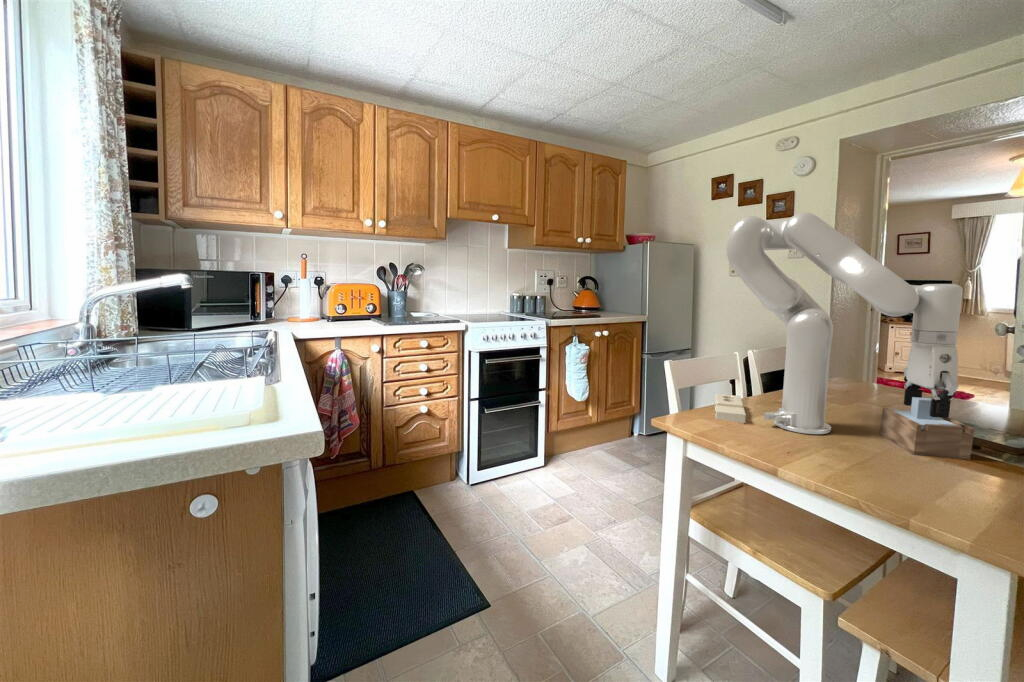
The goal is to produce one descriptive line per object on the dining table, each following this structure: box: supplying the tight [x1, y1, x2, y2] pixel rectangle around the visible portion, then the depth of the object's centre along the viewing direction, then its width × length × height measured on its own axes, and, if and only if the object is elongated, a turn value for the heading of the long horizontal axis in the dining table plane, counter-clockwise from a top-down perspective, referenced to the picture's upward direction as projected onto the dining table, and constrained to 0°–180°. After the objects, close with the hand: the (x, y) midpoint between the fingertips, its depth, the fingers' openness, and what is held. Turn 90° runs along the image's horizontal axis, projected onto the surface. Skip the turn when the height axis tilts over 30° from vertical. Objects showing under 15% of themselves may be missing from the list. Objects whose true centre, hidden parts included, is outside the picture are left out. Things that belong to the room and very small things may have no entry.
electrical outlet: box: [714, 393, 747, 424], centre depth 126 cm, size 7×4×18 cm
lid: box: [891, 397, 958, 430], centre depth 100 cm, size 12×7×6 cm, turn 164°
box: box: [879, 406, 975, 460], centre depth 100 cm, size 14×10×7 cm
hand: (924, 411), depth 100 cm, fingers open, 9 cm apart
